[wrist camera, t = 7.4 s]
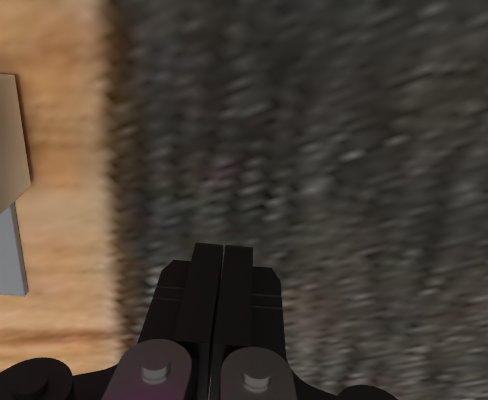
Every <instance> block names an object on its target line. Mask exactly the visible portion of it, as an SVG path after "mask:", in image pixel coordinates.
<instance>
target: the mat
mask: <svg viewBox="0 0 488 400" xmlns="http://www.w3.org/2000/svg"><path fill="white" fill-rule="evenodd" d="M27 292H28V288H27V281H26V275H25V269H24V262H23V256H22V250H21V243H20V237H19V230H18V224H17V218H16V211H15V205H14V202H13V203H12V204H11V205H10V206H9V207H8V208H7V209H6V210H4V211H3V212H2V213H1V214H0V294H1V295H13V296H25V295H26V294H27Z"/></svg>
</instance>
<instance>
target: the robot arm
mask: <svg viewBox="0 0 488 400" xmlns="http://www.w3.org/2000/svg"><path fill="white" fill-rule="evenodd" d="M222 259H223V245H218V244H206V243H196V244H195V247H194V252H193V256H192V260H191V261H181V260H173V261H172V262H171V263H170V264H169V265H168V266H167V267H165V268H164V269H163V270H162V271H161V274H160V277H159V280H158V283H157V288H156V289H155V292H154V295H153V299H152V301H151V304H150V307H149V310H148V313H147V316H146V319H145V322H144V325H143V328H142V331H141V334H140V337H139V340H138V343H137V344H136V345H134V346H133V347H131V348H130V349H129V350H127V351H126V352H125V353H124V355H123V356H122V358H121V359H120V361H119V363H118V364H117V365H115V366H113V367H110V368H107V369H105V370H101V371H96V372H91V373H85V374H80V375H74V376H72V373H71V370H70V369H69V367H68V366H67V365H66V364H64V363H63V362H61V361H59V360H56V359H53V358H33V359H29V360H25V361H22V362H20V363H17V364H15V365H13V366H11V367H9V368H8V369H6V370H4V371H2V372H0V400H208V393H209V385H210V377H211V386H210V400H398V399H396V398H395V397H394V396H392V395H391V394H389V393H388V392H386V391H384V390H382V389H379V388H376V387H373V386H368V385H354V386H351V387H348V388H346V389H344V390H343V391H342V392H340V393H339V395H338V396H335V395H333V394H330V393H327V392H324V391H322V390H319V389H317V388H314V387H312V386H310V385H308V384H307V383H305V382H304V381H302V380H301V379H300V378H299V377H298V376H297V375H296V374H295V373H294V372H293V371H292V369H291V368H290V366H289V364H288V362H287V358H286V350H285V336H284V323H283V310H282V298H281V282H280V280H279V278H278V277H277V275H276V274H275V272H274V271H273V270H272V268H265V267H253V247H243V246H231V245H226V246H225V254H224V262H223V270H222ZM221 273H222V278H221ZM211 369H212V371H211Z"/></svg>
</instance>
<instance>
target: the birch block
mask: <svg viewBox="0 0 488 400" xmlns="http://www.w3.org/2000/svg"><path fill="white" fill-rule="evenodd" d="M30 186H31V182H30V176H29V169H28V162H27V156H26V149H25V142H24V136H23V129H22V122H21V116H20V109H19V102H18V96H17V89H16V82H15V76H14V75H10V74H0V214H1V213H2V212H3V211H4V210H6V209H7V208H8V207H9V206H10V205H11V204H12V203H13V202H14V201H15V200H16V199H17V198H18V197H19V196H21V195H22V194H23V193H24V192H25V191H26V190H27V189H28V188H29V187H30Z"/></svg>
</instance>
